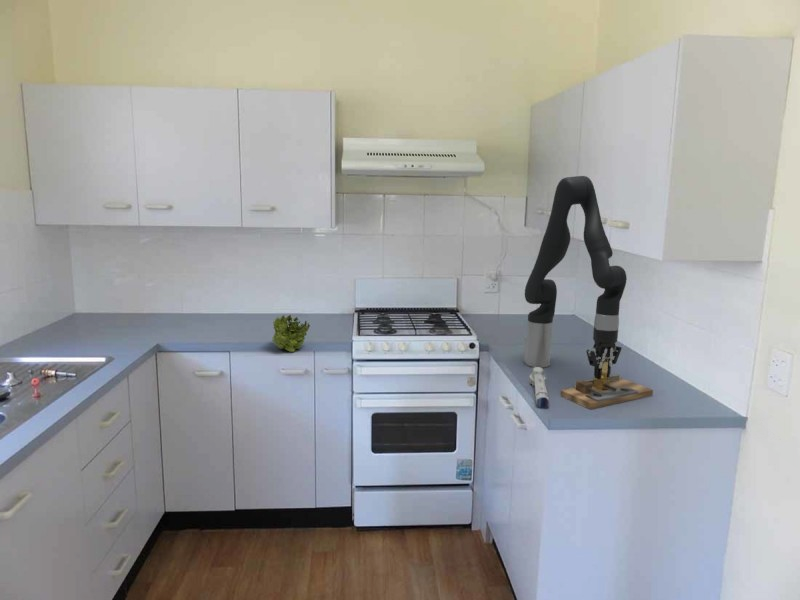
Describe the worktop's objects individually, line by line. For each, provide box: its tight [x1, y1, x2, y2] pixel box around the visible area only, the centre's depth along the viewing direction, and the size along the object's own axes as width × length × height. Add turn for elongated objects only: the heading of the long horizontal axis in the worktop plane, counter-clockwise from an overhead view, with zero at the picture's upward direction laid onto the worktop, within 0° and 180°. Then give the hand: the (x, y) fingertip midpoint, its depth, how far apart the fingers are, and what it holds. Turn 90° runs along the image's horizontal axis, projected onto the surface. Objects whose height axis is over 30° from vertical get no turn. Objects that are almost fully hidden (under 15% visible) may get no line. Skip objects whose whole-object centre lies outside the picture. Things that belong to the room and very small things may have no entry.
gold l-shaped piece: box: [593, 360, 616, 391], centre depth 186 cm, size 8×3×9 cm, turn 27°
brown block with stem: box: [575, 379, 599, 394], centre depth 183 cm, size 8×3×3 cm, turn 27°
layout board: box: [560, 374, 654, 410], centre depth 186 cm, size 13×28×4 cm, turn 117°
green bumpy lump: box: [272, 314, 311, 353], centre depth 235 cm, size 18×16×16 cm
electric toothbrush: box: [529, 367, 550, 409], centre depth 187 cm, size 5×7×25 cm
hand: (601, 377), depth 188 cm, fingers closed on gold l-shaped piece, 3 cm apart
